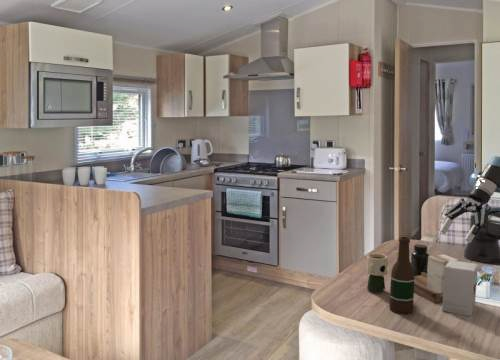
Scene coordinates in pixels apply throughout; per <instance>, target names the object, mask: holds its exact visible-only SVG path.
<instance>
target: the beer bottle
mask: <svg viewBox="0 0 500 360" xmlns="http://www.w3.org/2000/svg"><path fill="white" fill-rule="evenodd" d="M398 242H399V243H398V253H397V258H396V259H397V260H396V262H395V263H394V264H393V265H392V268H391V273H390V285H389V286H390V288H389V310H390V311H391V312H393V313H396V314H401V315H408V314H412V313H413V311H414V310H413V309H414V295H415V293H414V269H413V266H412V265H411V258H410V243H411V239H410V237H407V236H400V237H399V238H398Z"/></svg>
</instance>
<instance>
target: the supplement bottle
mask: <svg viewBox="0 0 500 360" xmlns="http://www.w3.org/2000/svg"><path fill="white" fill-rule="evenodd" d="M428 256H430V254H429V253H428V246H427V245H425V244H414V247H413V251H412V252H411V253H410V263H411V265H412V266H413V269H414V276H420V275H421V272H425V273H427V268H428Z"/></svg>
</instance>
